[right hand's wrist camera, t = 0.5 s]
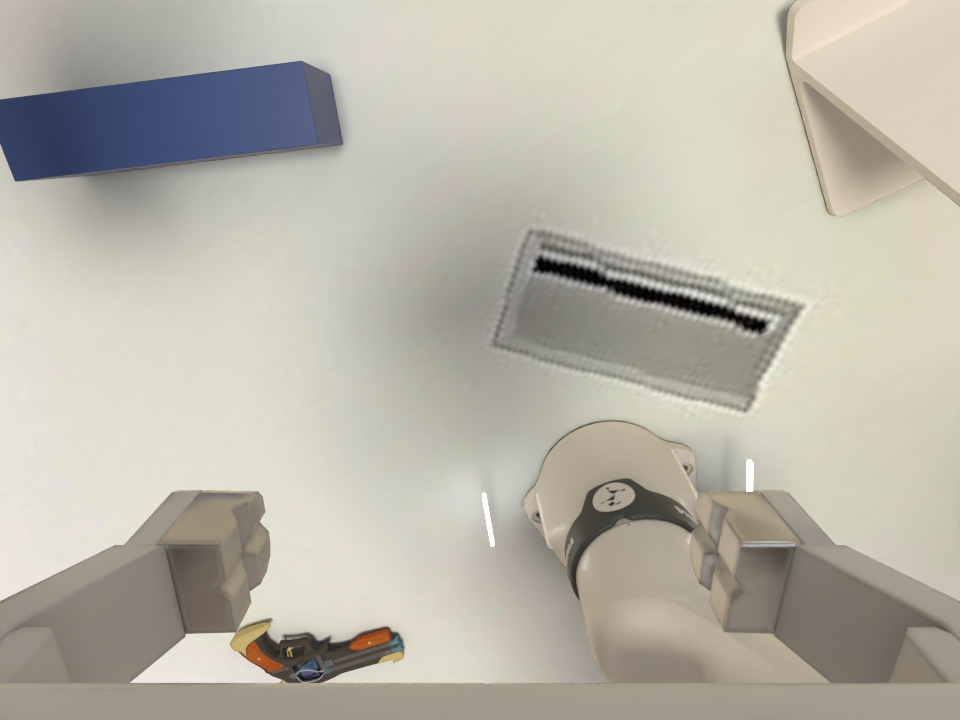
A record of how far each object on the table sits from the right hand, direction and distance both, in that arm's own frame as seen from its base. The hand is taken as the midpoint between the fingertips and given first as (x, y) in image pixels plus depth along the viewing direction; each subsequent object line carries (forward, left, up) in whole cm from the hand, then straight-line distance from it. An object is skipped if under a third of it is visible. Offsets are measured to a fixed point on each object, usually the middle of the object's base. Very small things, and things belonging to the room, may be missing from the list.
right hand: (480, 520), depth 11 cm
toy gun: (-39, +36, -43) cm, 69 cm away
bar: (+16, +19, -43) cm, 50 cm away
